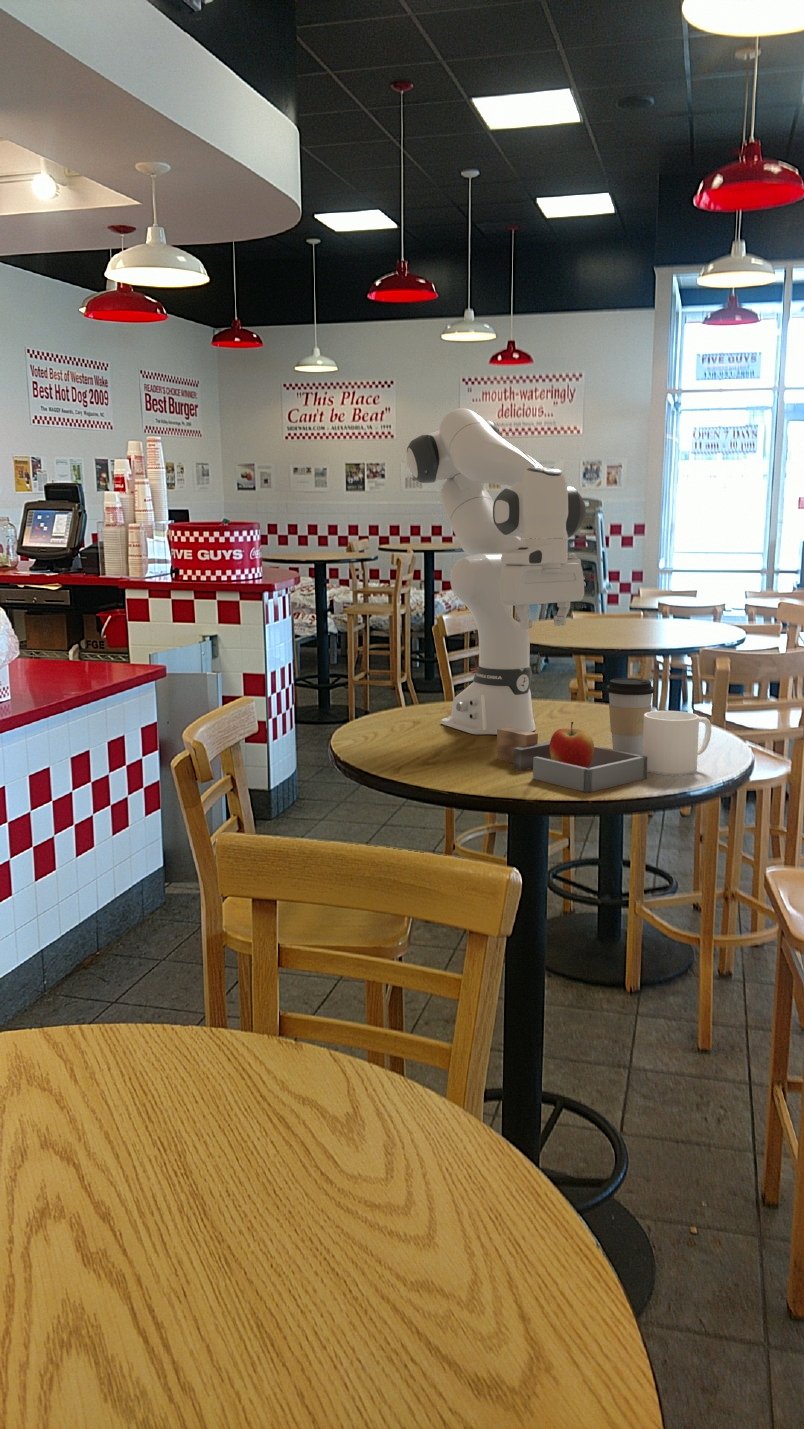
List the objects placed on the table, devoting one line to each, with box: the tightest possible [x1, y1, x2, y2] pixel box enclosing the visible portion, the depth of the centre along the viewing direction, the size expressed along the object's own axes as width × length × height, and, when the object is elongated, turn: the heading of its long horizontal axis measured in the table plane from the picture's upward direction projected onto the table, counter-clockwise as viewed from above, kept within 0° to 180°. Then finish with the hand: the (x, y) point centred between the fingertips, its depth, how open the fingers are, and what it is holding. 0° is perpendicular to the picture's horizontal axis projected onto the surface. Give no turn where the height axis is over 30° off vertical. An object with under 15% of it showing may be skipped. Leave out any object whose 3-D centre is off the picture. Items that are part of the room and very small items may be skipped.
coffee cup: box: [605, 677, 656, 755], centre depth 210 cm, size 9×9×15 cm
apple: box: [549, 721, 595, 768], centre depth 196 cm, size 8×8×10 cm
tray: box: [532, 745, 648, 794], centre depth 193 cm, size 13×16×4 cm
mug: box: [642, 710, 712, 776], centre depth 199 cm, size 13×10×10 cm
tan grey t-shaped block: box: [496, 727, 551, 771], centre depth 206 cm, size 10×10×6 cm
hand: (543, 627), depth 204 cm, fingers open, 8 cm apart
